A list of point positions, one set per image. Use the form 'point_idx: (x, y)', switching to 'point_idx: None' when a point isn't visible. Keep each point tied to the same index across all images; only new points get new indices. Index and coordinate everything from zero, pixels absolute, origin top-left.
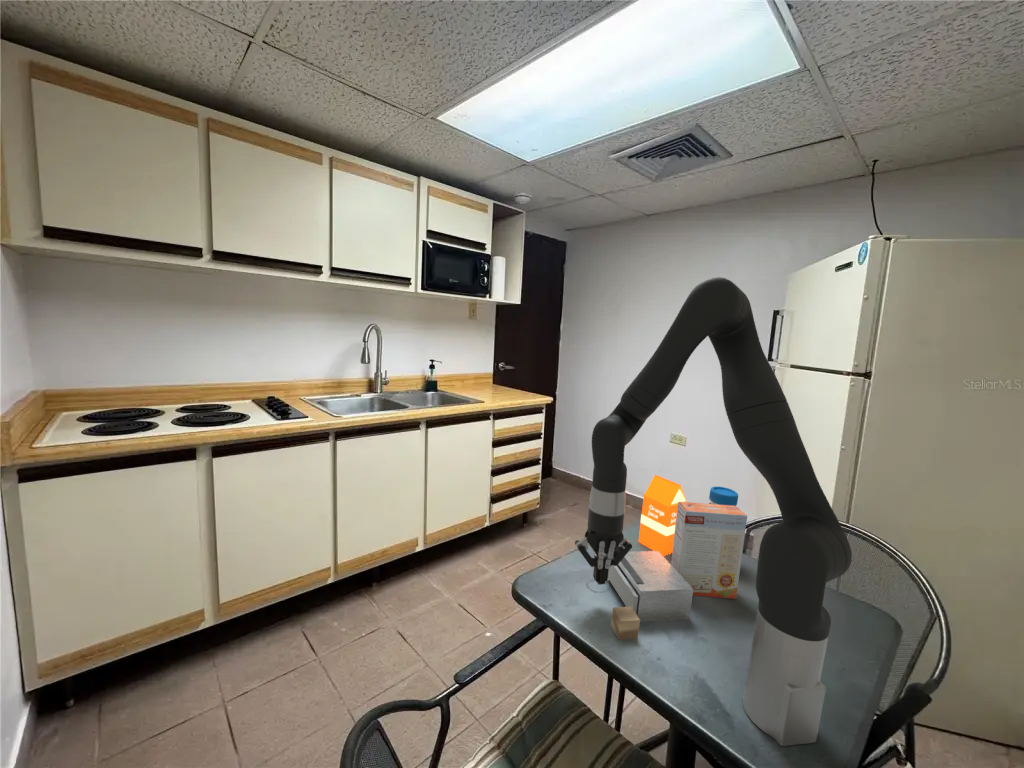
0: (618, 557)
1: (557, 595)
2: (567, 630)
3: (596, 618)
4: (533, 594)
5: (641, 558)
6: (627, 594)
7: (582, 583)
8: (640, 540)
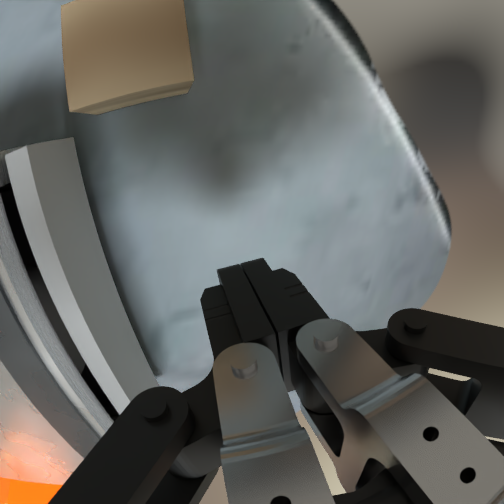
0: (129, 479)
1: (367, 256)
2: (372, 68)
3: (246, 132)
4: (428, 247)
5: (22, 456)
6: (71, 231)
7: None
8: None
